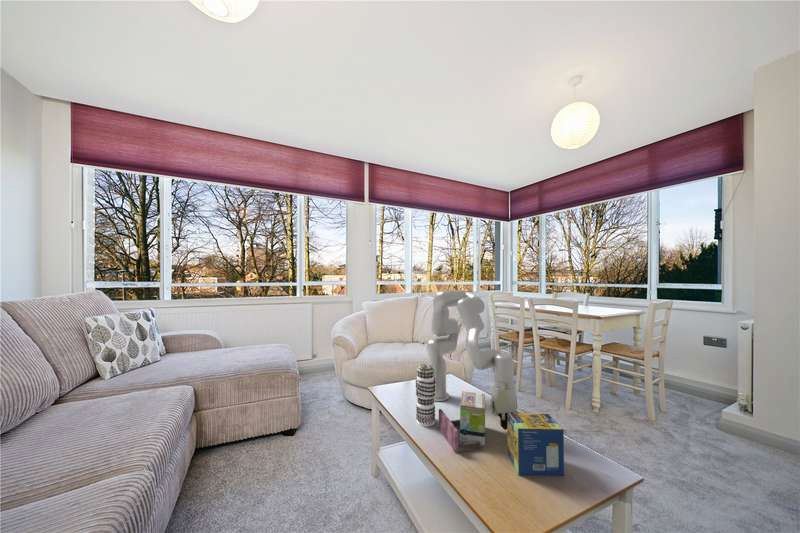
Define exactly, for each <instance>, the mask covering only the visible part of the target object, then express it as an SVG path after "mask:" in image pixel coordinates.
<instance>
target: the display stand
mask: <svg viewBox="0 0 800 533" xmlns="http://www.w3.org/2000/svg"><path fill="white" fill-rule="evenodd" d="M457 428H460V419H455V420H454V419H453V420H450V419H449V417H448V416H447V415H446V413H445V412H444V410H442V409H441V408H439V409H438V429H439V431H440V432H441V434H442V435H443V437H444V438H445V440H446V441H447V443H448V444H449V446H450V447H451V449H452V451H453V452H454V453H455V454H458V453H459V454H460V453H464V452H465V453H466V452H472V451H480V450H481V445H480V442H479V441H478V442H471V443H463V442H462V443H459V431H458V429H457Z"/></svg>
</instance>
